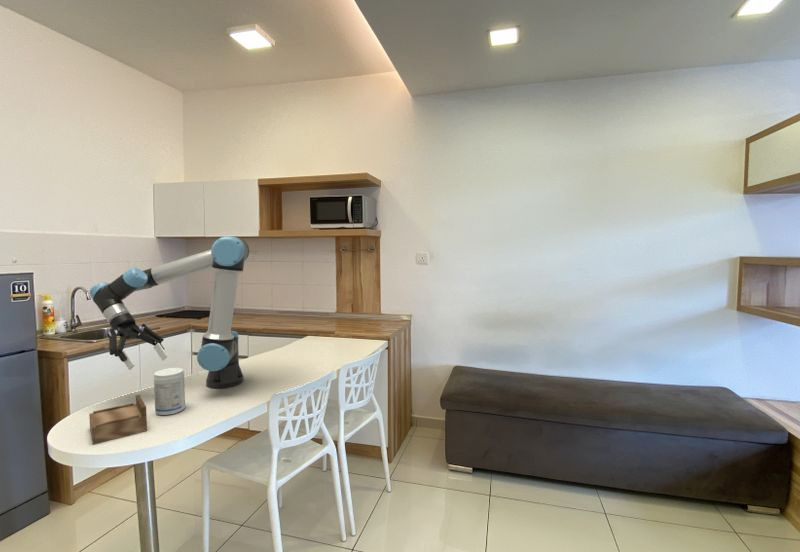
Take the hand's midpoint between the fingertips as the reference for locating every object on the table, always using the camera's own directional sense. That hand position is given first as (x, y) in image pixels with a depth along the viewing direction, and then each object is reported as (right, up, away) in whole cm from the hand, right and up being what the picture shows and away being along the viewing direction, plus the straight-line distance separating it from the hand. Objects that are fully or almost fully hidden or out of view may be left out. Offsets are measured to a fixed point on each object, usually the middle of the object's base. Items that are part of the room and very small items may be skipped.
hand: (149, 362), depth 146 cm
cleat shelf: (+1, -18, -17) cm, 25 cm away
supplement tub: (+9, -17, -2) cm, 20 cm away
